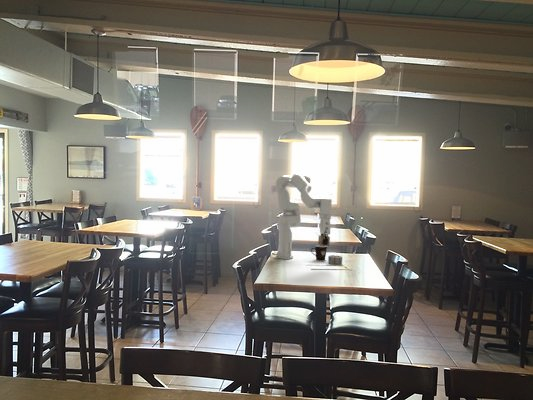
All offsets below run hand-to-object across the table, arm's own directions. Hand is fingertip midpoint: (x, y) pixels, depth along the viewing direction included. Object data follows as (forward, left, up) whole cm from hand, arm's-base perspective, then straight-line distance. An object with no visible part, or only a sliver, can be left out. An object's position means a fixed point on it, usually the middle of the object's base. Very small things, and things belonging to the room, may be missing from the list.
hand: (323, 243), depth 290 cm
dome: (+13, +14, -16) cm, 25 cm away
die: (0, 0, -1) cm, 1 cm away
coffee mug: (+5, +28, -16) cm, 33 cm away
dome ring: (+13, +14, -16) cm, 25 cm away
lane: (+3, 0, -16) cm, 16 cm away
